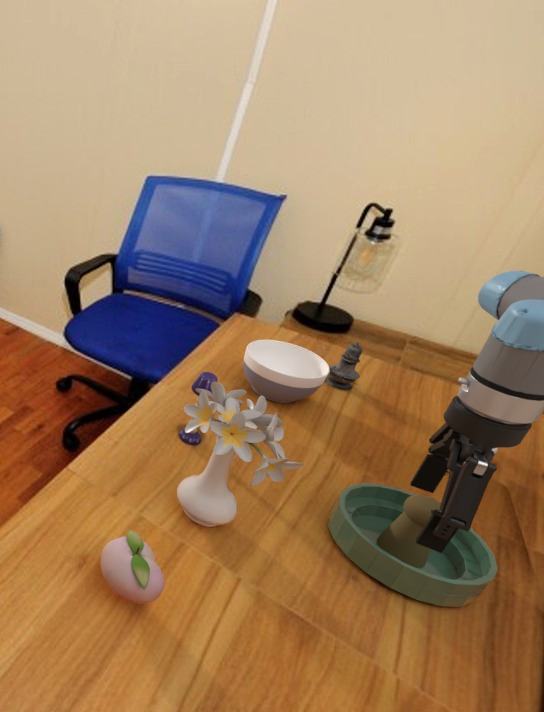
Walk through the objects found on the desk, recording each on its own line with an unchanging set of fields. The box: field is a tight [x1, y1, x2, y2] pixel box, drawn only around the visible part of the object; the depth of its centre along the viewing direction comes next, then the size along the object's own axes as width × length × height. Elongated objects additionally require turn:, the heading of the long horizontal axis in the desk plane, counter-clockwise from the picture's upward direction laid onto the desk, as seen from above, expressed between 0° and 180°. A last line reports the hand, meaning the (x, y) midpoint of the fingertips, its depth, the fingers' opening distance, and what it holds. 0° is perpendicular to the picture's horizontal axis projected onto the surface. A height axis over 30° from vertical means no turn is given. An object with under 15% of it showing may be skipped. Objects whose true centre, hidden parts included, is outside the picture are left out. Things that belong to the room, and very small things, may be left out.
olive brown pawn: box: [377, 494, 441, 568], centre depth 80 cm, size 6×6×11 cm
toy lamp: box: [178, 371, 219, 446], centre depth 103 cm, size 5×5×17 cm
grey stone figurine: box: [324, 341, 364, 391], centre depth 120 cm, size 6×6×12 cm
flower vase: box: [176, 381, 305, 528], centre depth 84 cm, size 13×18×25 cm
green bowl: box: [327, 482, 499, 608], centre depth 81 cm, size 18×18×6 cm
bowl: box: [242, 339, 330, 404], centre depth 119 cm, size 16×16×10 cm
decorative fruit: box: [100, 529, 165, 605], centre depth 76 cm, size 9×8×10 cm
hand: (424, 515), depth 79 cm, fingers open, 13 cm apart
